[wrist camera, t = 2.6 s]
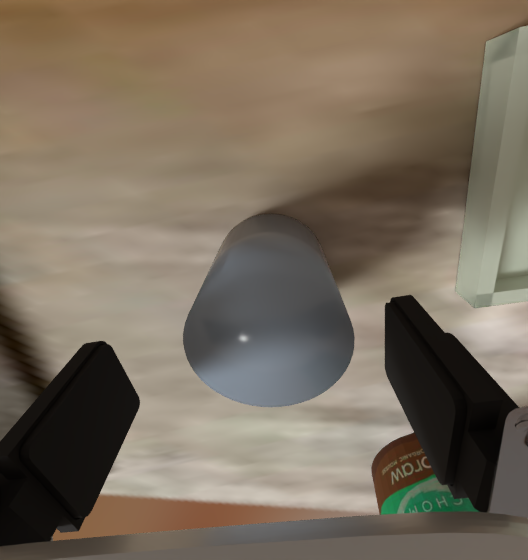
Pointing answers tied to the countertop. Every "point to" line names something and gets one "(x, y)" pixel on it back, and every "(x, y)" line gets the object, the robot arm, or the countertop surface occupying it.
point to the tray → (498, 181)
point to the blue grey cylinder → (269, 317)
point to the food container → (411, 481)
